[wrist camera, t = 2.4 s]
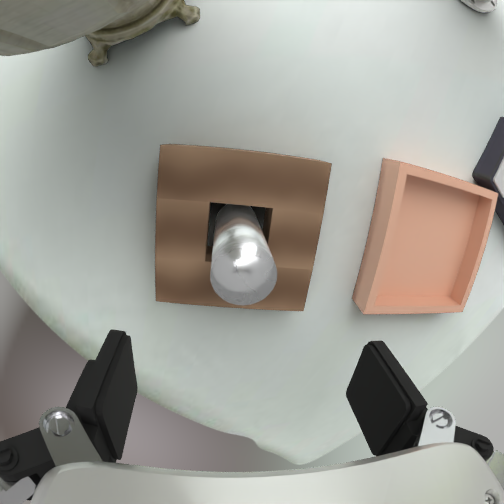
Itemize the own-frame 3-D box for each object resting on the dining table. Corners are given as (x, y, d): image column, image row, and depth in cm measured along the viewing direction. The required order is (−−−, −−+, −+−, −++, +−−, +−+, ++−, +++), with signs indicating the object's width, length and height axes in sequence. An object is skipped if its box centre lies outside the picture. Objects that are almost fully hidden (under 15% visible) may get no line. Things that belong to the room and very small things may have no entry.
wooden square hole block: (169, 143, 26) (160, 144, 22) (317, 159, 28) (331, 163, 24) (163, 282, 31) (155, 301, 27) (294, 291, 33) (303, 311, 29)
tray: (383, 158, 28) (400, 161, 25) (480, 187, 30) (498, 193, 27) (351, 298, 34) (363, 314, 30) (448, 299, 36) (462, 311, 32)
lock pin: (217, 200, 28) (212, 241, 17) (259, 204, 29) (282, 247, 18) (213, 240, 30) (208, 302, 19) (254, 243, 30) (271, 307, 19)
